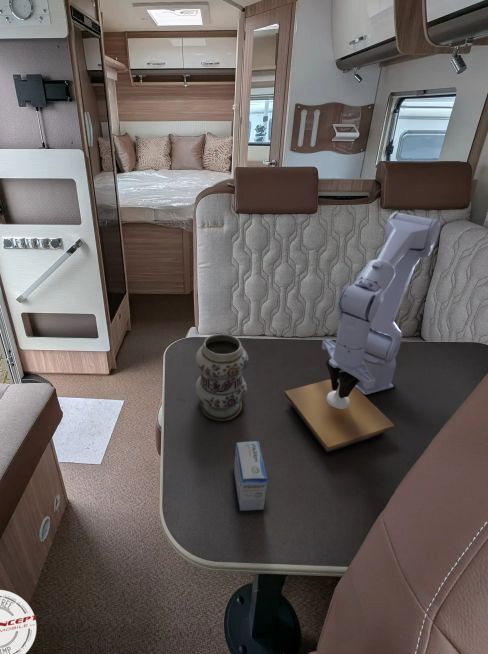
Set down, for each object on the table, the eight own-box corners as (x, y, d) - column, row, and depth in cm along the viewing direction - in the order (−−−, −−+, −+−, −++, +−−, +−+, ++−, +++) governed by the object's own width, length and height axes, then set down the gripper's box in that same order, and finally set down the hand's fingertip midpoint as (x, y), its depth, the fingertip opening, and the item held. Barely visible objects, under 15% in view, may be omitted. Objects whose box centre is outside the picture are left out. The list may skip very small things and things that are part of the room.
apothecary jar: (235, 384, 94) (238, 325, 86) (253, 418, 84) (258, 355, 76) (190, 393, 91) (189, 333, 83) (203, 429, 81) (203, 365, 73)
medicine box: (233, 472, 71) (235, 441, 68) (255, 470, 72) (258, 439, 68) (239, 512, 64) (241, 480, 61) (264, 510, 65) (268, 478, 61)
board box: (340, 387, 94) (343, 375, 92) (390, 438, 79) (394, 425, 77) (283, 403, 88) (284, 391, 86) (325, 461, 74) (328, 447, 72)
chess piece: (351, 410, 78) (360, 374, 74) (327, 407, 79) (335, 370, 75) (348, 394, 83) (356, 359, 78) (325, 391, 84) (332, 356, 79)
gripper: (313, 326, 79) (306, 375, 85) (359, 367, 67) (346, 421, 73) (340, 321, 81) (331, 369, 87) (389, 359, 69) (374, 412, 75)
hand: (339, 392), depth 80 cm, fingers closed on chess piece
